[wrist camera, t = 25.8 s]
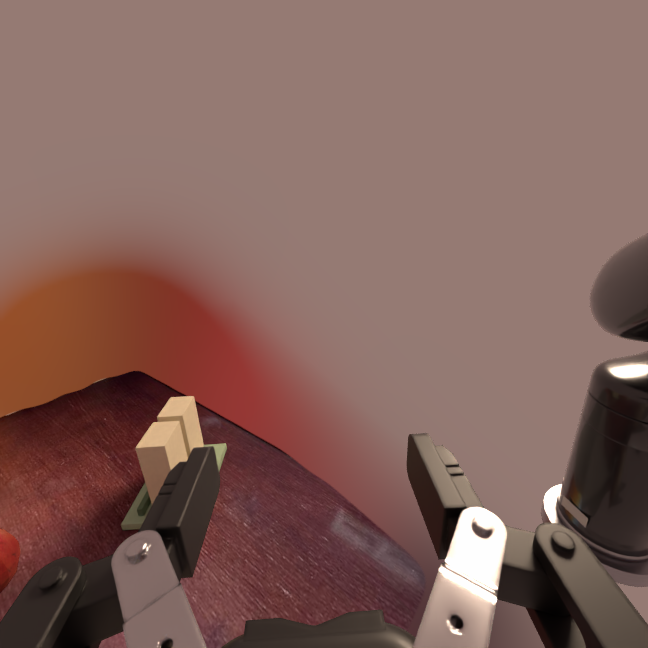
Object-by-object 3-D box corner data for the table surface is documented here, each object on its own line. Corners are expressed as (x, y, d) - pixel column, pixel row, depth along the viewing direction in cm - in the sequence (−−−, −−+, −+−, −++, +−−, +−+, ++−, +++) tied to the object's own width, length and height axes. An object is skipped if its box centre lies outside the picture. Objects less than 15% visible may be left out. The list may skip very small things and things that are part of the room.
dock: (226, 448, 55) (217, 391, 51) (202, 524, 42) (186, 455, 38) (166, 452, 55) (151, 395, 51) (122, 530, 42) (98, 461, 38)
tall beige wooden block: (192, 478, 48) (179, 420, 44) (180, 507, 43) (164, 445, 40) (167, 479, 48) (153, 422, 44) (153, 509, 43) (135, 448, 40)
